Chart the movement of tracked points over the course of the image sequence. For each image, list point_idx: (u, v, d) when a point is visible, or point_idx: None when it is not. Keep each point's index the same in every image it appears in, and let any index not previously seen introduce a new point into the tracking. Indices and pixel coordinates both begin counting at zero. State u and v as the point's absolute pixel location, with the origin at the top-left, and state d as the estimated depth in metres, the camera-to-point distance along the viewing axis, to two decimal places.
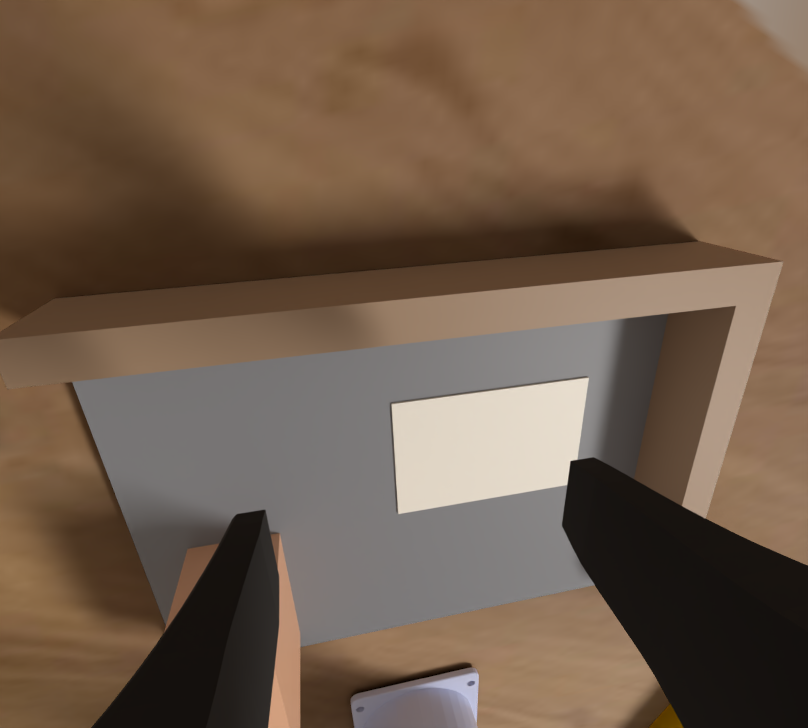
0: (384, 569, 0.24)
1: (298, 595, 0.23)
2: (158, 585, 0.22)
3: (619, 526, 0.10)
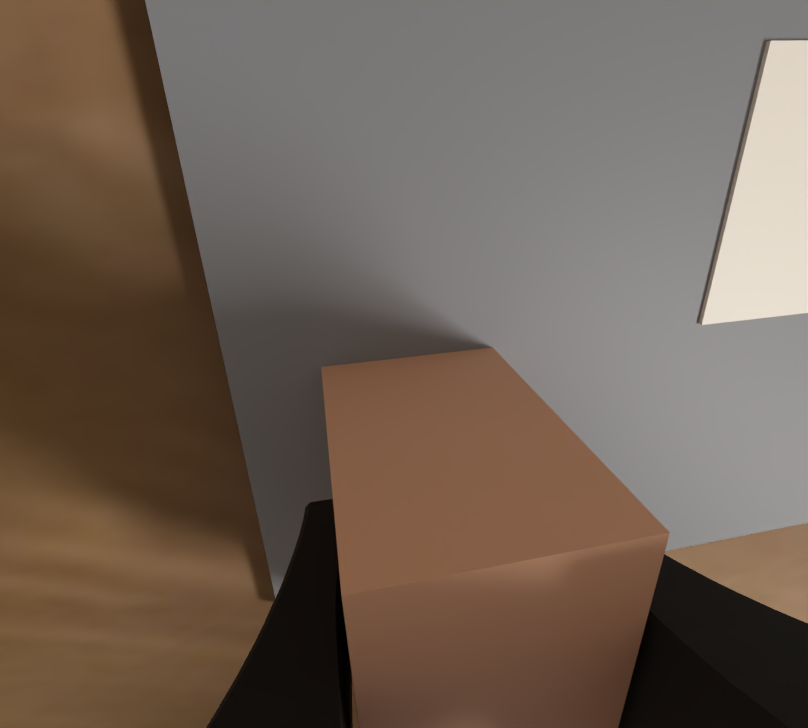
0: (643, 444, 0.13)
1: None
2: (257, 447, 0.11)
3: None
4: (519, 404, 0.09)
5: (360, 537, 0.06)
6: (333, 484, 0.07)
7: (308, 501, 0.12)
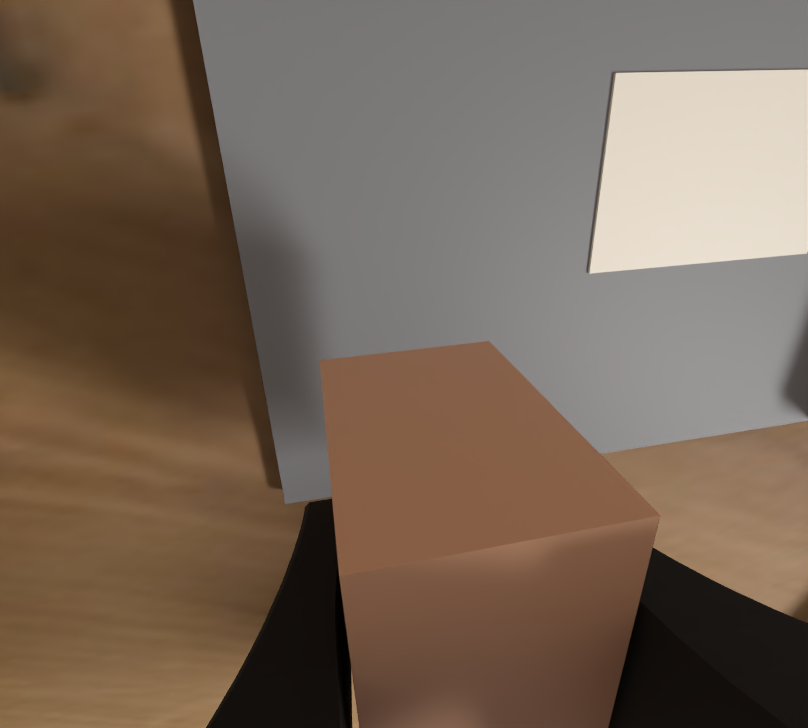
0: (555, 366, 0.18)
1: None
2: (268, 357, 0.16)
3: None
4: (514, 395, 0.09)
5: (358, 522, 0.06)
6: (331, 471, 0.07)
7: (305, 401, 0.16)
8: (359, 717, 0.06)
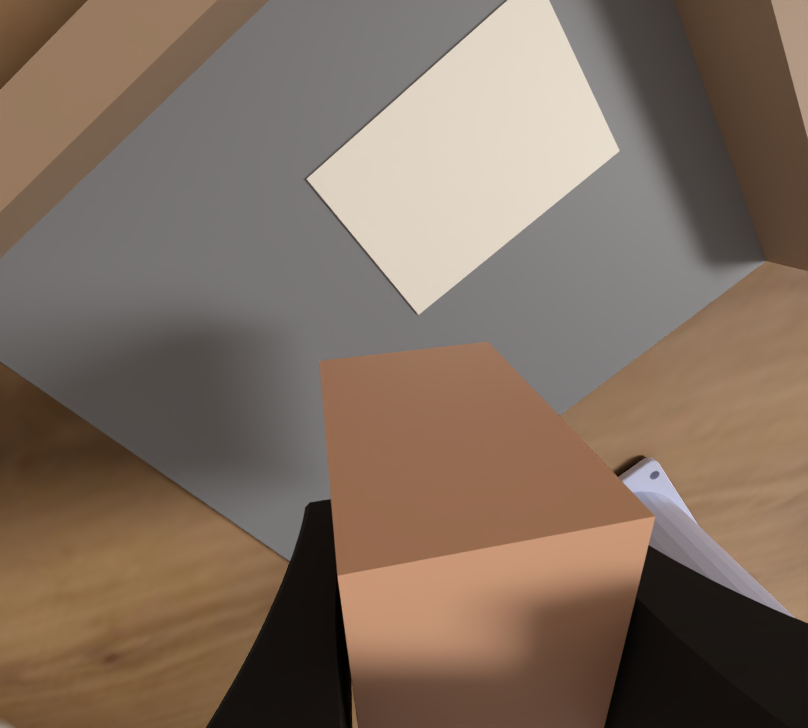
0: None
1: None
2: (236, 515, 0.20)
3: None
4: (512, 396, 0.09)
5: (356, 522, 0.06)
6: (330, 472, 0.07)
7: (283, 524, 0.20)
8: (357, 714, 0.06)
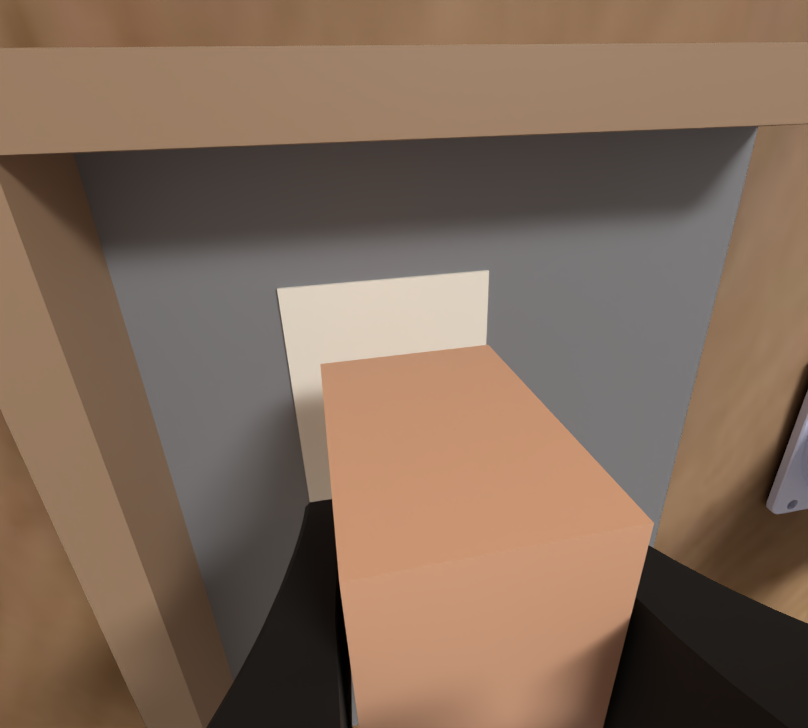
0: None
1: None
2: None
3: None
4: (513, 401, 0.09)
5: (357, 528, 0.06)
6: (332, 477, 0.07)
7: None
8: (359, 717, 0.07)
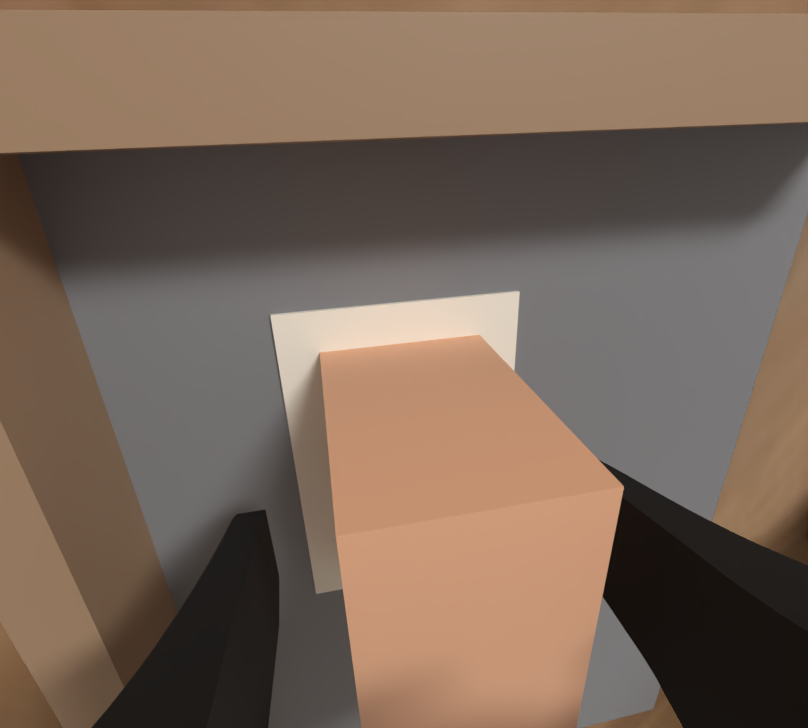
0: None
1: (595, 635, 0.18)
2: None
3: (619, 526, 0.10)
4: (500, 383, 0.09)
5: (353, 492, 0.07)
6: (329, 450, 0.08)
7: None
8: (354, 670, 0.07)
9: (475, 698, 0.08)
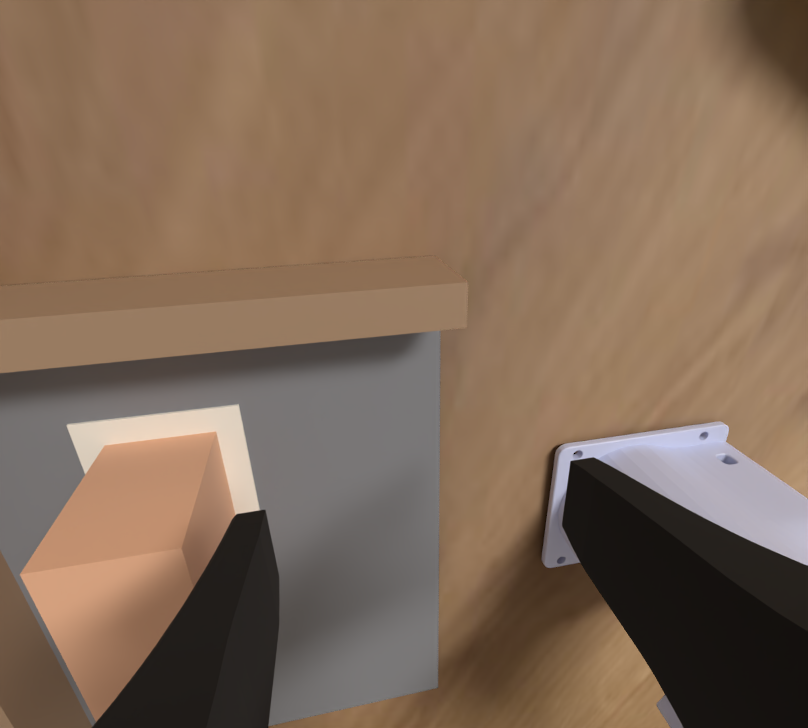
0: (349, 572, 0.23)
1: (368, 629, 0.25)
2: (333, 707, 0.27)
3: (619, 526, 0.10)
4: (188, 475, 0.16)
5: (46, 549, 0.13)
6: (53, 523, 0.14)
7: (364, 690, 0.27)
8: (55, 641, 0.14)
9: (140, 659, 0.14)
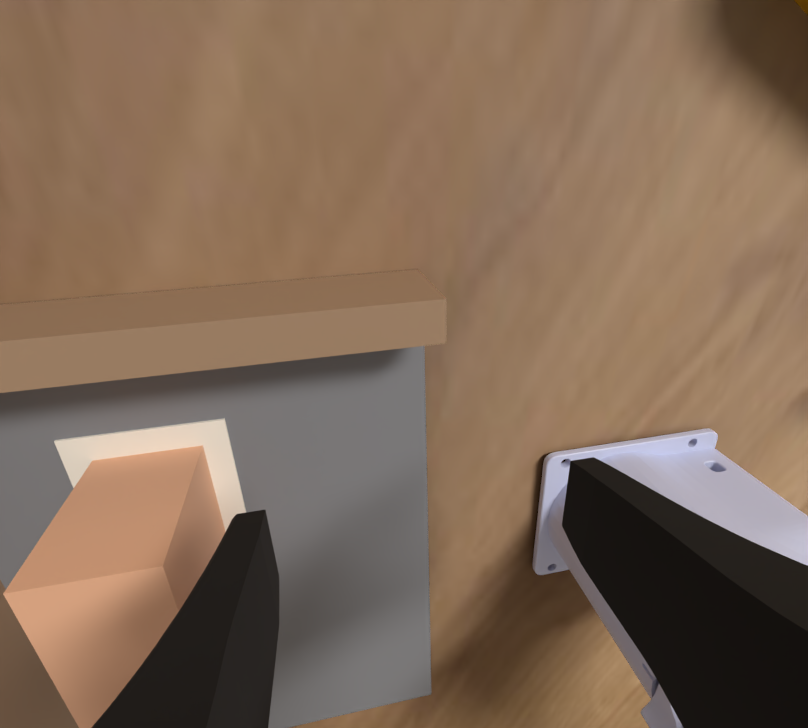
0: (339, 581, 0.23)
1: (360, 638, 0.25)
2: (327, 714, 0.27)
3: (619, 526, 0.10)
4: (173, 491, 0.16)
5: (30, 568, 0.13)
6: None
7: (357, 697, 0.27)
8: (40, 658, 0.14)
9: (125, 674, 0.15)
